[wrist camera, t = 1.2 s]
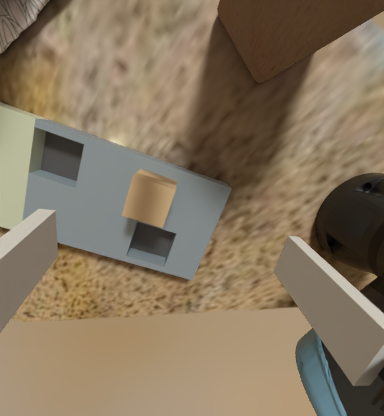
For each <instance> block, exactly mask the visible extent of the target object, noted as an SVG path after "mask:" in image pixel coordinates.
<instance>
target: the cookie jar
mask: <svg viewBox="0 0 384 416" xmlns="http://www.w3.org/2000/svg"><path fill="white" fill-rule="evenodd" d="M48 2H49V0H0V54H1V53H2V52H4V51H5V50H6V49H7V48H8V46H9V45H10V44H11V43H12V42H13V40H15V39H17V38H18V37H19V35H20V33H21V32H22V31H24V30H26V29H27V28H28V27H29V26H30V25H31V24H32V23H33V22H34V21H36V20H37V15H38V14H39V13H40V11H41V10H42V8H43V7H44V6H45V5H46V4H47V3H48Z"/></svg>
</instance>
